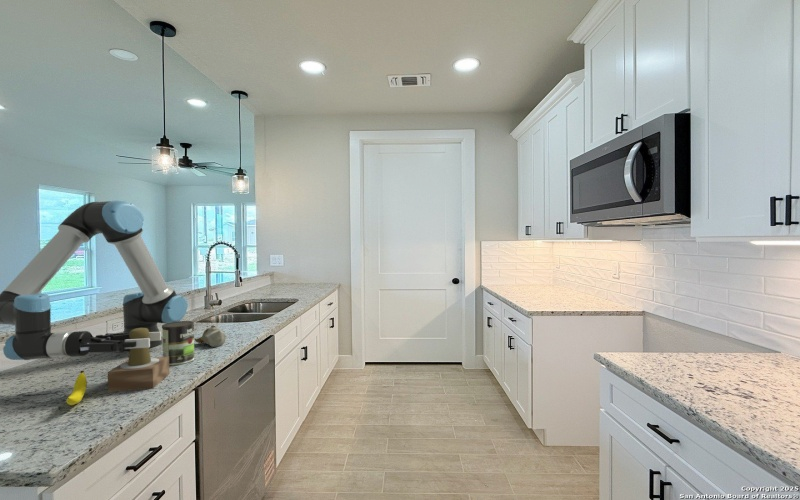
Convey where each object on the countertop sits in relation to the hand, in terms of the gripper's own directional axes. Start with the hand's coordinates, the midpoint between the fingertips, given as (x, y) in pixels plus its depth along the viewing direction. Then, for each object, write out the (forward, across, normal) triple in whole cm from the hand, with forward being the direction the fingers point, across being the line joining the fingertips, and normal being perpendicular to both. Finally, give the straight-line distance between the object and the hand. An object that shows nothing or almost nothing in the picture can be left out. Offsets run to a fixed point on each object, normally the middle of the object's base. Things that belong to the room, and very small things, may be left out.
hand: (155, 339), depth 115 cm
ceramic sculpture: (+6, -41, -14) cm, 43 cm away
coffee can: (0, -20, -14) cm, 24 cm away
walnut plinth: (-4, 0, -14) cm, 14 cm away
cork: (-5, 0, -7) cm, 9 cm away
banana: (-15, +12, -14) cm, 24 cm away
